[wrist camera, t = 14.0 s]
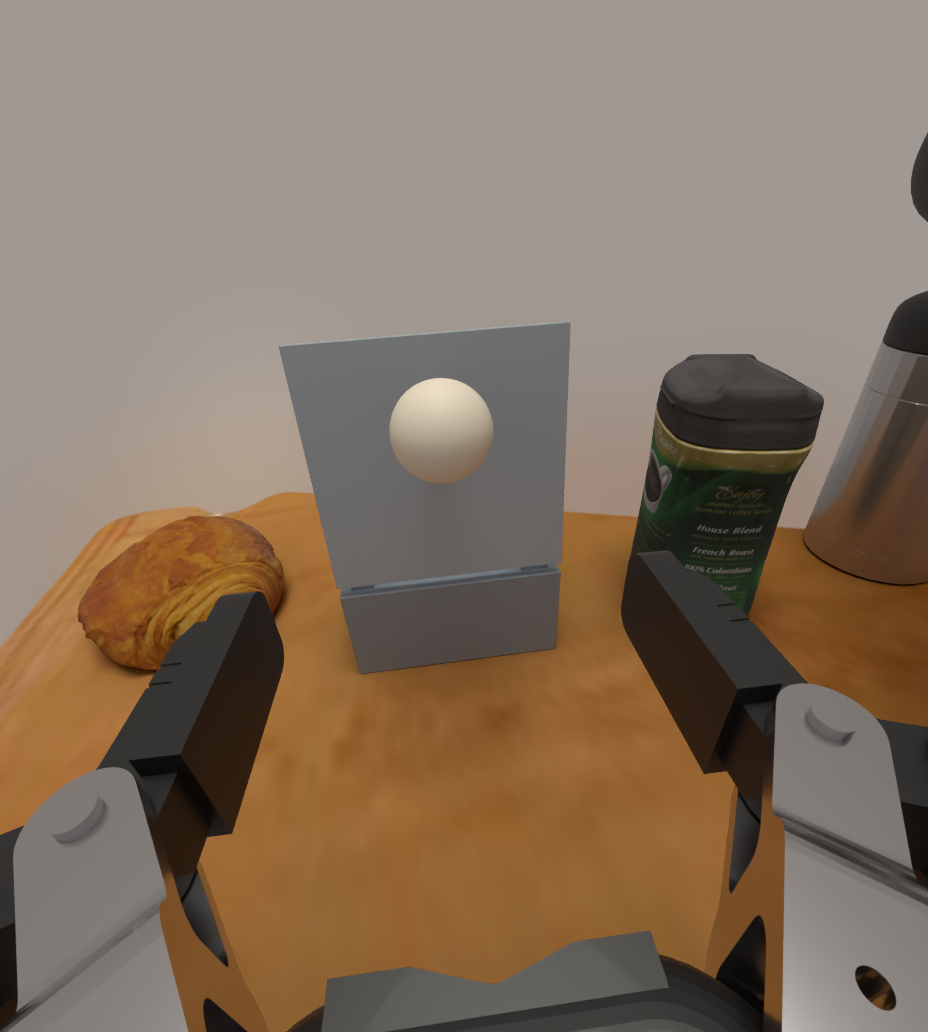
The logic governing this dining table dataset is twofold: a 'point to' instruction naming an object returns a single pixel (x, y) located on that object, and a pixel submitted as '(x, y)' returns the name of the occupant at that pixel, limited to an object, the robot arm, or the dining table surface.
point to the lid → (435, 449)
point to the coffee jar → (724, 466)
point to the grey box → (452, 617)
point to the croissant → (175, 586)
